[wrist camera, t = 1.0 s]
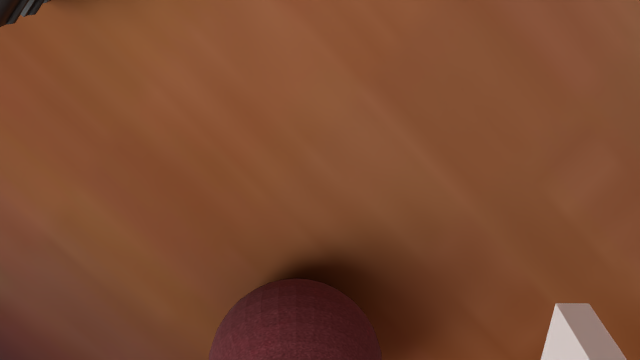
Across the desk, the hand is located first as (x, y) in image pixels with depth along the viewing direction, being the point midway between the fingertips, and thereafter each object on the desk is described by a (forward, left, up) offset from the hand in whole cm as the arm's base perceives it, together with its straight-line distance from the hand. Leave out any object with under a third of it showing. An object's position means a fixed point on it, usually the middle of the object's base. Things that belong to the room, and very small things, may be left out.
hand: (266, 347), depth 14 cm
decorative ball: (+15, +1, -21) cm, 26 cm away
